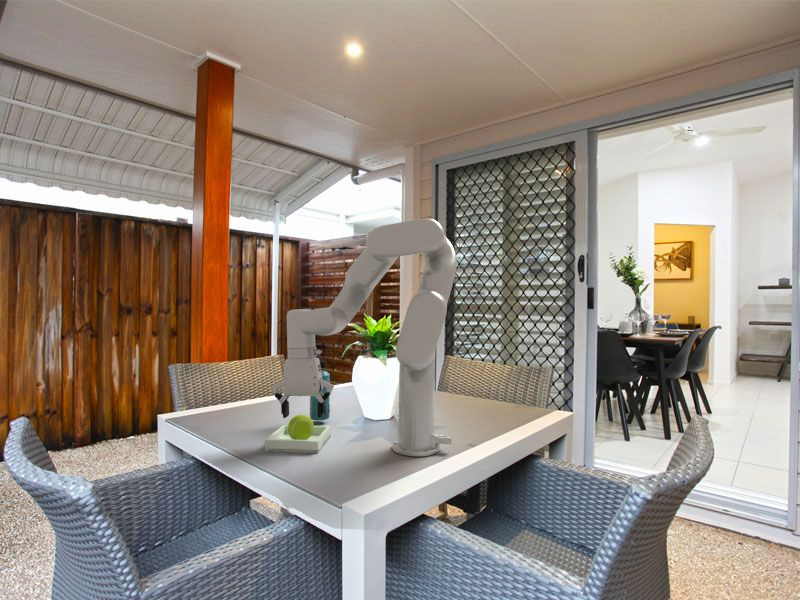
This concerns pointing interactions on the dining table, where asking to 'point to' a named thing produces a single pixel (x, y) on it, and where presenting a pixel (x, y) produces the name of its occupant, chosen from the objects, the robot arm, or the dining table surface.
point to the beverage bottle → (315, 401)
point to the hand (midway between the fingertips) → (303, 416)
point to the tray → (297, 441)
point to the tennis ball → (300, 427)
